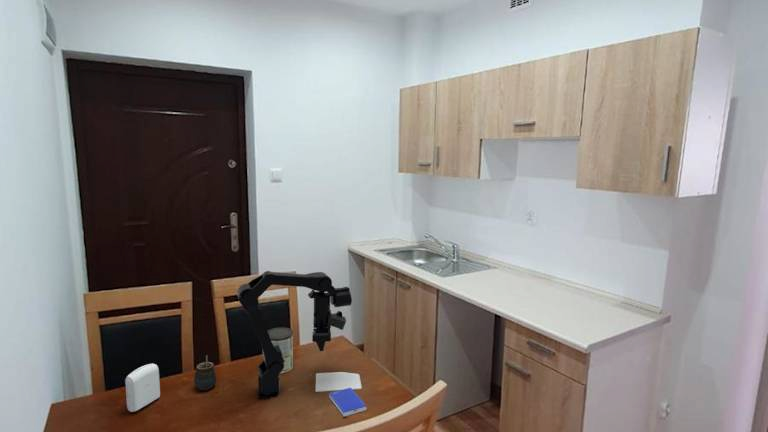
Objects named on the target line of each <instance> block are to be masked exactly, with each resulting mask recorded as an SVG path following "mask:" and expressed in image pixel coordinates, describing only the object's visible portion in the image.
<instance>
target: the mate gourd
mask: <svg viewBox="0 0 768 432" xmlns="http://www.w3.org/2000/svg"><path fill="white" fill-rule="evenodd" d="M208 356H209V354H206V355H205V361H204V362H201V363H198V364H197V365H196V371H195V373H194V374H195V375H194V378H193V383H194V386H195V388H196V389H199V390H200V391H207V390H210V389H211V388H213V387H214V385H216V382H217V374H216V370H215V366H214V363H213V362H210V361H208V358H209V357H208Z"/></svg>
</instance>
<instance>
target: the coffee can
mask: <svg viewBox="0 0 768 432" xmlns="http://www.w3.org/2000/svg"><path fill="white" fill-rule="evenodd" d="M267 331H268V334H269V336H270V339H271V342H272V344H273V345H274V346H277V345H279V347H280V350H281V352H282V355H283V357H284V360H285V362H283V363H284V368H283V370H282V371H281V373H280V374H283V373H284V374H285V373H287V372H289V371H291V370H292V368H293V367H294V353H293V352H294V351H293V349H294V345H293V343H294V341H293V340H294V339H293V335H294V334H293V333H294V331H293V329H291V328H289V327H275V328H271V329H267Z"/></svg>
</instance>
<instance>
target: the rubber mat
mask: <svg viewBox="0 0 768 432" xmlns="http://www.w3.org/2000/svg"><path fill="white" fill-rule="evenodd" d="M347 388H352V389H353V391H354V390H362V388H363V387H362V383H361V377H360V374H359V373H353V372H344V371H338V372H337V371H335V372H334V371H333V372H319V373H318V372H317V373H315V393H317V392H318V393H319V392H321V393H323V392H335V391H339V390H343V389H347Z"/></svg>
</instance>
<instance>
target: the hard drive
mask: <svg viewBox="0 0 768 432" xmlns="http://www.w3.org/2000/svg"><path fill="white" fill-rule="evenodd" d="M328 397H329V399H330V400H331V401H332V402H333V404H334V405H335V406H336V409H337V410H338V411H339V412H340V413H341V415H342V416H343V417H347V416H351V415H355V414H357V413H360V412H365V411H366V410H367V408H368V406H367V404H366V403H365V402H364V401H363V400H362V399H361V398H360V397H359V395H358V394H357V393H356V392H355V391H354V390H353V389H352V388H347V389H343V390H339V391H331V392H329V394H328Z"/></svg>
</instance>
